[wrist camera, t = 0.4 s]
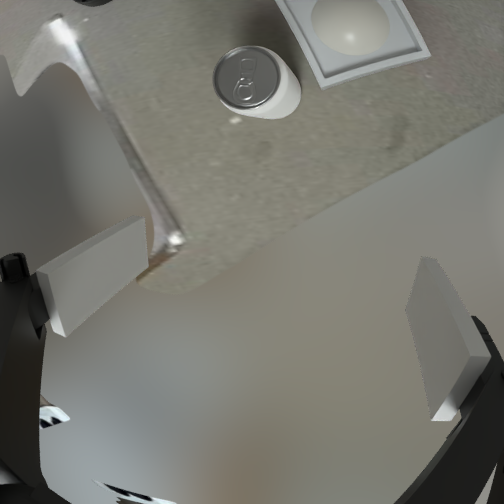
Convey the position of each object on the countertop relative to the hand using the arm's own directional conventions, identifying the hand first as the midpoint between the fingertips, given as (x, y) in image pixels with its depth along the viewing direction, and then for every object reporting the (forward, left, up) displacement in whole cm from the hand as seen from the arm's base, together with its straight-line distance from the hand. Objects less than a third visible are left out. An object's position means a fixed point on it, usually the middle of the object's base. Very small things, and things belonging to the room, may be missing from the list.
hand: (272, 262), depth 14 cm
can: (-11, 0, -24) cm, 27 cm away
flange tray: (-16, +12, -24) cm, 31 cm away
